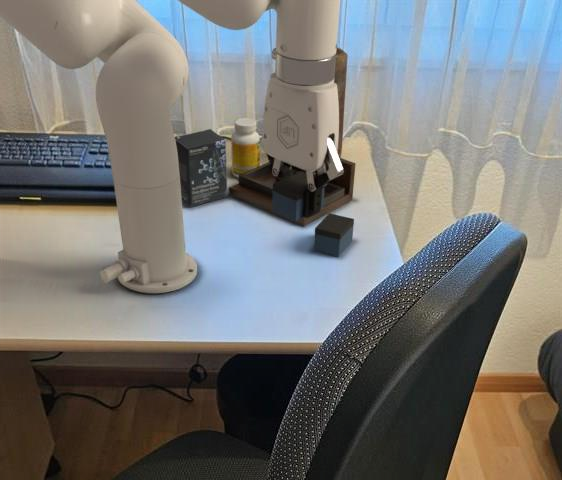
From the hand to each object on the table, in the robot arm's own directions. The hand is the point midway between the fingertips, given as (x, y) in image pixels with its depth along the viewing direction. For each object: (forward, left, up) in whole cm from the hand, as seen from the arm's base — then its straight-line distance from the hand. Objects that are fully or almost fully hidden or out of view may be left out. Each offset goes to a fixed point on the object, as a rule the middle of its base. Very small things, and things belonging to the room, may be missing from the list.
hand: (297, 207), depth 107 cm
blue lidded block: (+15, +4, -13) cm, 20 cm away
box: (+13, +33, -13) cm, 38 cm away
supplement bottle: (+26, +34, -13) cm, 44 cm away
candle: (+40, +27, -13) cm, 50 cm away
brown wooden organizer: (+24, +21, -13) cm, 34 cm away
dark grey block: (0, 0, 0) cm, 0 cm away
